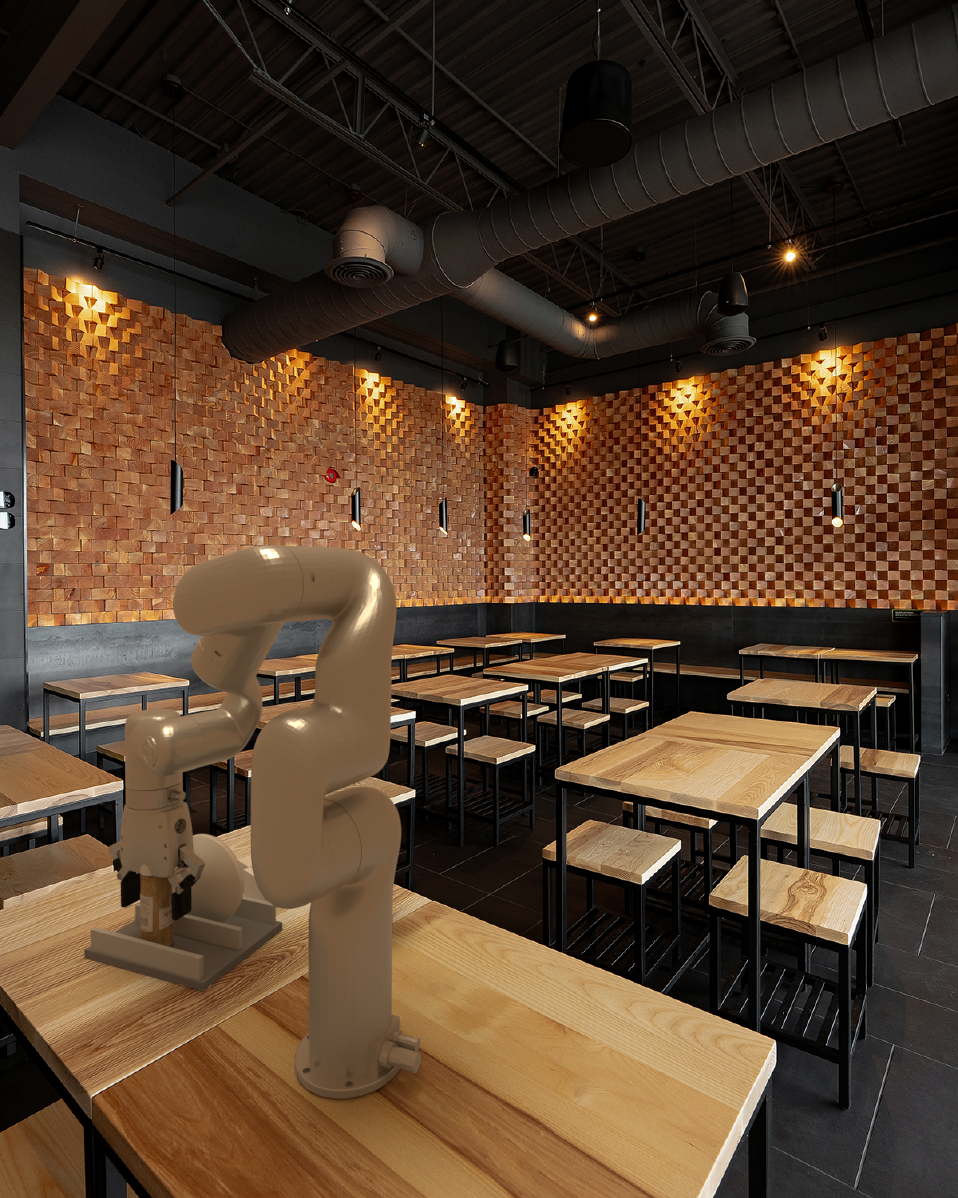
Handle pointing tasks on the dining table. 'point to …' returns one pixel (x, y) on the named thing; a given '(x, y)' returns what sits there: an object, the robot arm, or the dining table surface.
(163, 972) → the dish rack
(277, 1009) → the dining table surface
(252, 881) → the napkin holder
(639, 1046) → the dining table surface
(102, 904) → the dining table surface
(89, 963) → the dining table surface
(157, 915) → the sprinkles bottle
